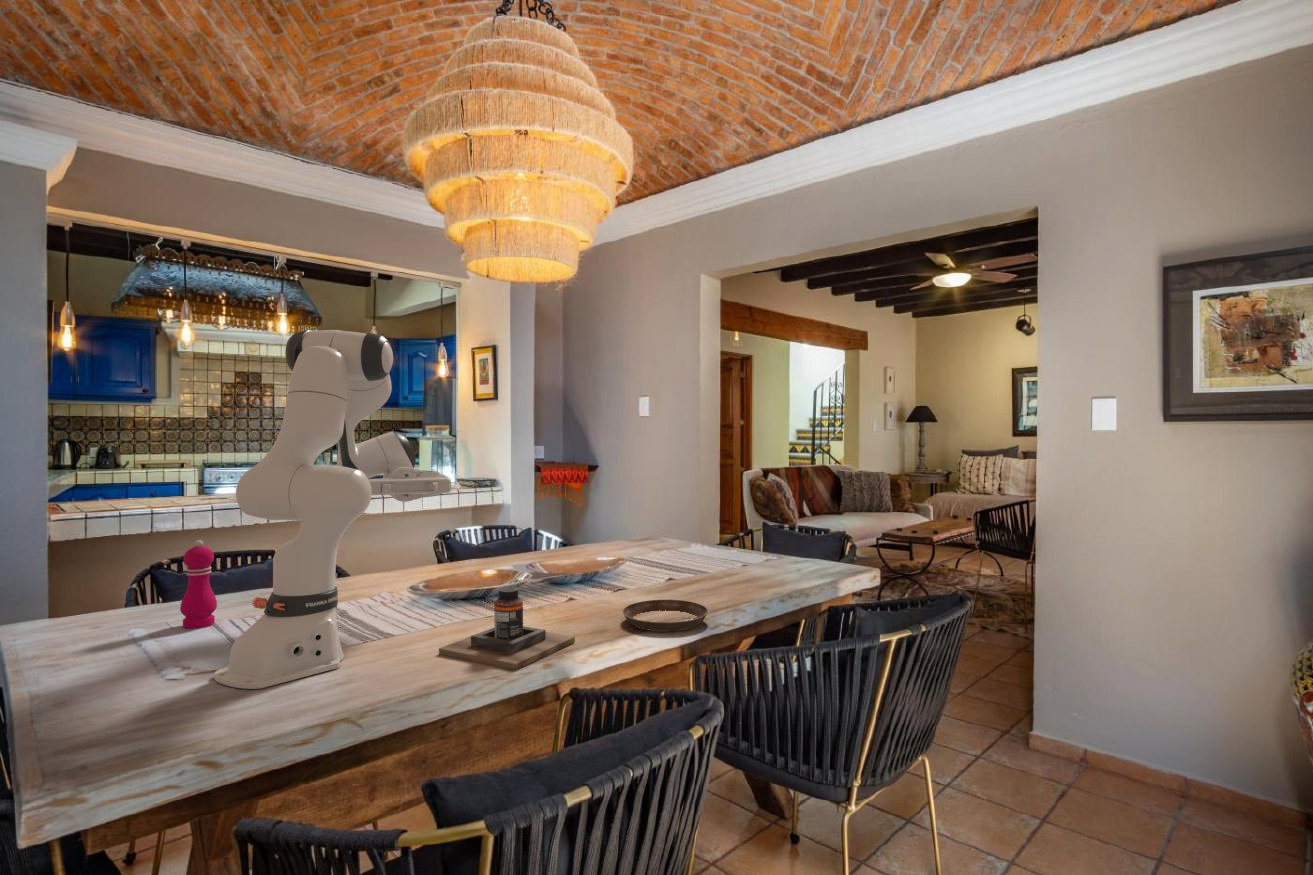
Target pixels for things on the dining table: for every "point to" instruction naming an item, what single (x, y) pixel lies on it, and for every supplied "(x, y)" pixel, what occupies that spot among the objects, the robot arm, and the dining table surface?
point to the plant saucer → (668, 606)
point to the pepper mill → (198, 588)
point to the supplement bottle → (508, 614)
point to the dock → (507, 648)
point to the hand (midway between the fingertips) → (412, 488)
